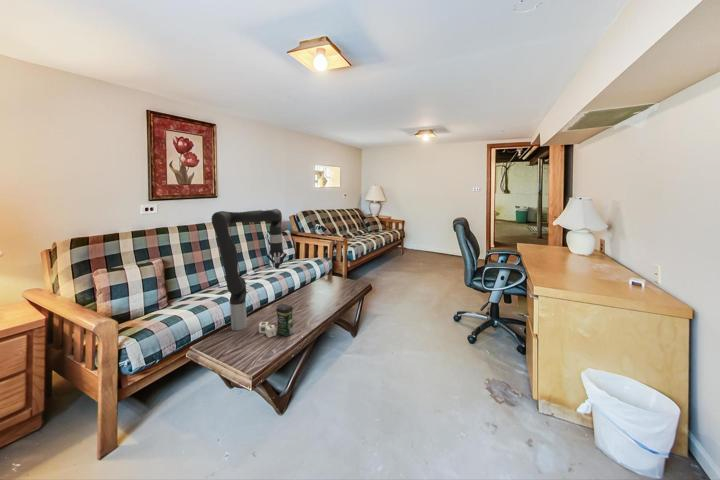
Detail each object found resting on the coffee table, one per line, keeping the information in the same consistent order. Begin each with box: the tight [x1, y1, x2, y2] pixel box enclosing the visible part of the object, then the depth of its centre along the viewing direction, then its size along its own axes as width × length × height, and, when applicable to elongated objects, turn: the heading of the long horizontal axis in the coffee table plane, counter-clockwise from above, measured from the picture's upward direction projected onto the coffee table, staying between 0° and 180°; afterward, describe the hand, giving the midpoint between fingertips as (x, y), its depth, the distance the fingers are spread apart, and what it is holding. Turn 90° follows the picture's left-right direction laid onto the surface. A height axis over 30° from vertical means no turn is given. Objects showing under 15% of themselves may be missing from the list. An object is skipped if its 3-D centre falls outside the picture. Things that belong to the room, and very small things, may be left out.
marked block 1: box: [258, 321, 270, 334], centre depth 183 cm, size 5×5×5 cm
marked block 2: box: [265, 324, 277, 338], centre depth 178 cm, size 5×6×5 cm
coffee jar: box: [276, 303, 294, 337], centre depth 179 cm, size 10×8×19 cm
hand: (277, 268), depth 183 cm, fingers closed
